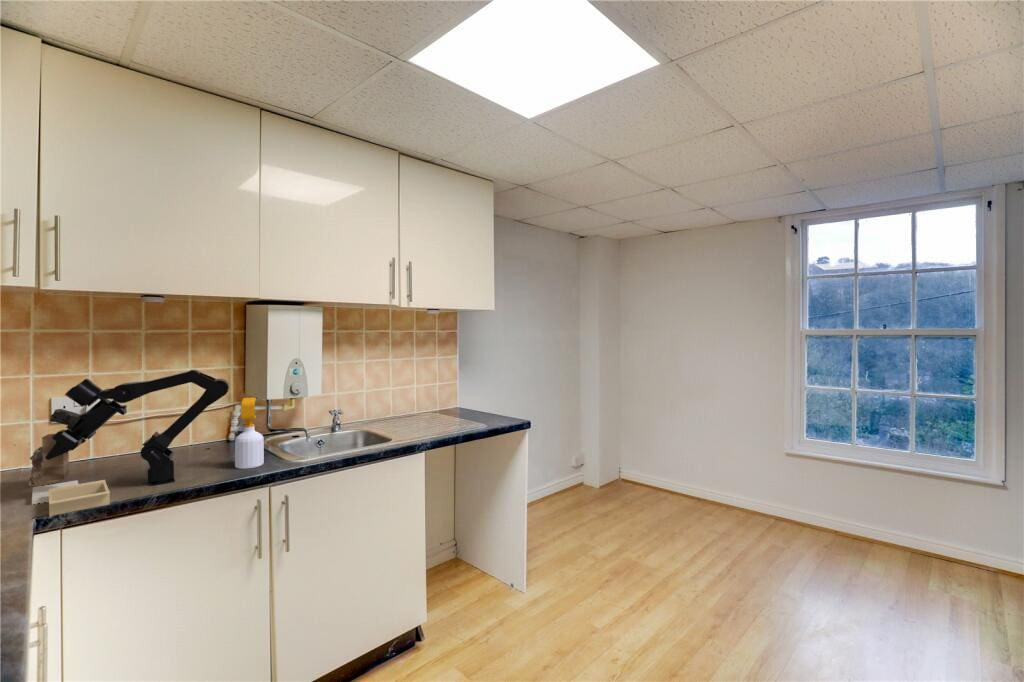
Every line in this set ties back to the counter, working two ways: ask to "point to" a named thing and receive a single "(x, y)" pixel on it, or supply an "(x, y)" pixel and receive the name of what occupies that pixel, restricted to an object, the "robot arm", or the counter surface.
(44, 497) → the tile
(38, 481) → the figurine
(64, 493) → the light wooden tray
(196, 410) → the robot arm
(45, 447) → the walnut box
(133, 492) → the counter surface
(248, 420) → the soap bottle
